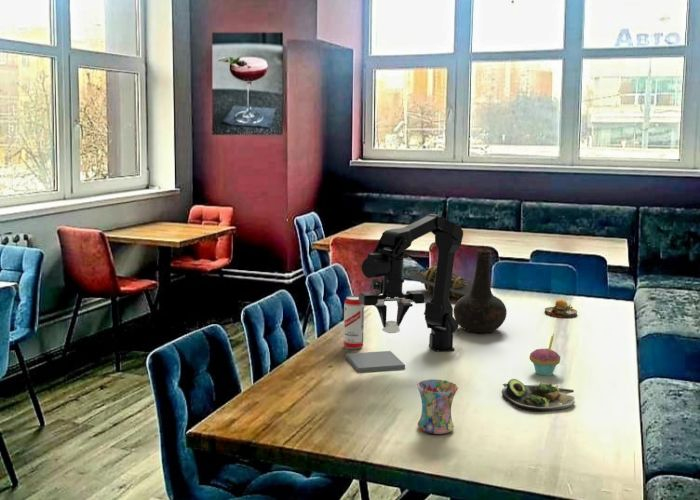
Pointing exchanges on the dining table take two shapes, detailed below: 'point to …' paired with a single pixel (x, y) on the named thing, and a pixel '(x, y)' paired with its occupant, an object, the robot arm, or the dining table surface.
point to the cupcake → (545, 360)
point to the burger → (561, 310)
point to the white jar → (391, 327)
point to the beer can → (353, 323)
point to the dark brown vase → (480, 301)
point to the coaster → (375, 361)
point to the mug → (436, 405)
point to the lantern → (429, 281)
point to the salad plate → (536, 396)
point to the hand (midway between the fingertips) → (391, 326)
